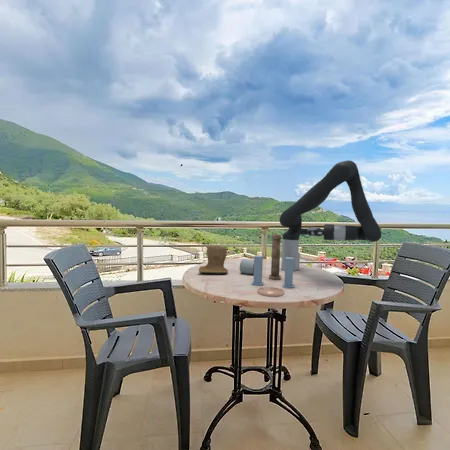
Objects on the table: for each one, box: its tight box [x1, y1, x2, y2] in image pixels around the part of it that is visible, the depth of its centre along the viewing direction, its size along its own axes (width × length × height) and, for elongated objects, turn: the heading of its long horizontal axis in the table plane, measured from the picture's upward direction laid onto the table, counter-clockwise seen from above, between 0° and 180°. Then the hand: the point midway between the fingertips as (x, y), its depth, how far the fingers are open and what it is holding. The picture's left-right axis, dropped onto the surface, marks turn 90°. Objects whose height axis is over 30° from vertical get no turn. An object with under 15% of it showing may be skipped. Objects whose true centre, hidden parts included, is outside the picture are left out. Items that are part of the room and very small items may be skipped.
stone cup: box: [198, 244, 229, 275], centre depth 170 cm, size 15×12×15 cm
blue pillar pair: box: [251, 255, 295, 289], centre depth 148 cm, size 19×5×13 cm, turn 77°
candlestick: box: [268, 233, 282, 281], centre depth 160 cm, size 6×6×22 cm
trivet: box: [256, 286, 285, 298], centre depth 136 cm, size 11×11×1 cm
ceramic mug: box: [239, 258, 254, 275], centre depth 172 cm, size 11×8×8 cm
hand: (299, 231), depth 157 cm, fingers open, 8 cm apart
